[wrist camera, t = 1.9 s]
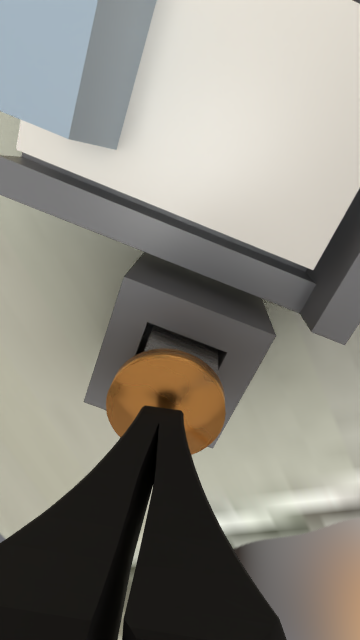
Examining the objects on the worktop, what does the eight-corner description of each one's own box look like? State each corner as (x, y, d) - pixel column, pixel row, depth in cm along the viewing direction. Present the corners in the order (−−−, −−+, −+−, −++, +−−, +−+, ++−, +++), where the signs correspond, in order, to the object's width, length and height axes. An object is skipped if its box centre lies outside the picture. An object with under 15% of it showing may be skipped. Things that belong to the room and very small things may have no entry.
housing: (464, 42, 14) (589, -22, 9) (252, 403, 21) (263, 466, 17) (83, -137, 13) (12, -311, 8) (4, 311, 20) (-56, 352, 16)
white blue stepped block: (391, 70, 13) (592, -43, 6) (295, 252, 16) (358, 314, 9) (96, -65, 12) (-54, -369, 5) (52, 153, 16) (-80, 138, 8)
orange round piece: (237, 332, 16) (246, 386, 12) (201, 404, 18) (198, 472, 14) (147, 298, 16) (125, 341, 12) (119, 374, 17) (92, 434, 13)
